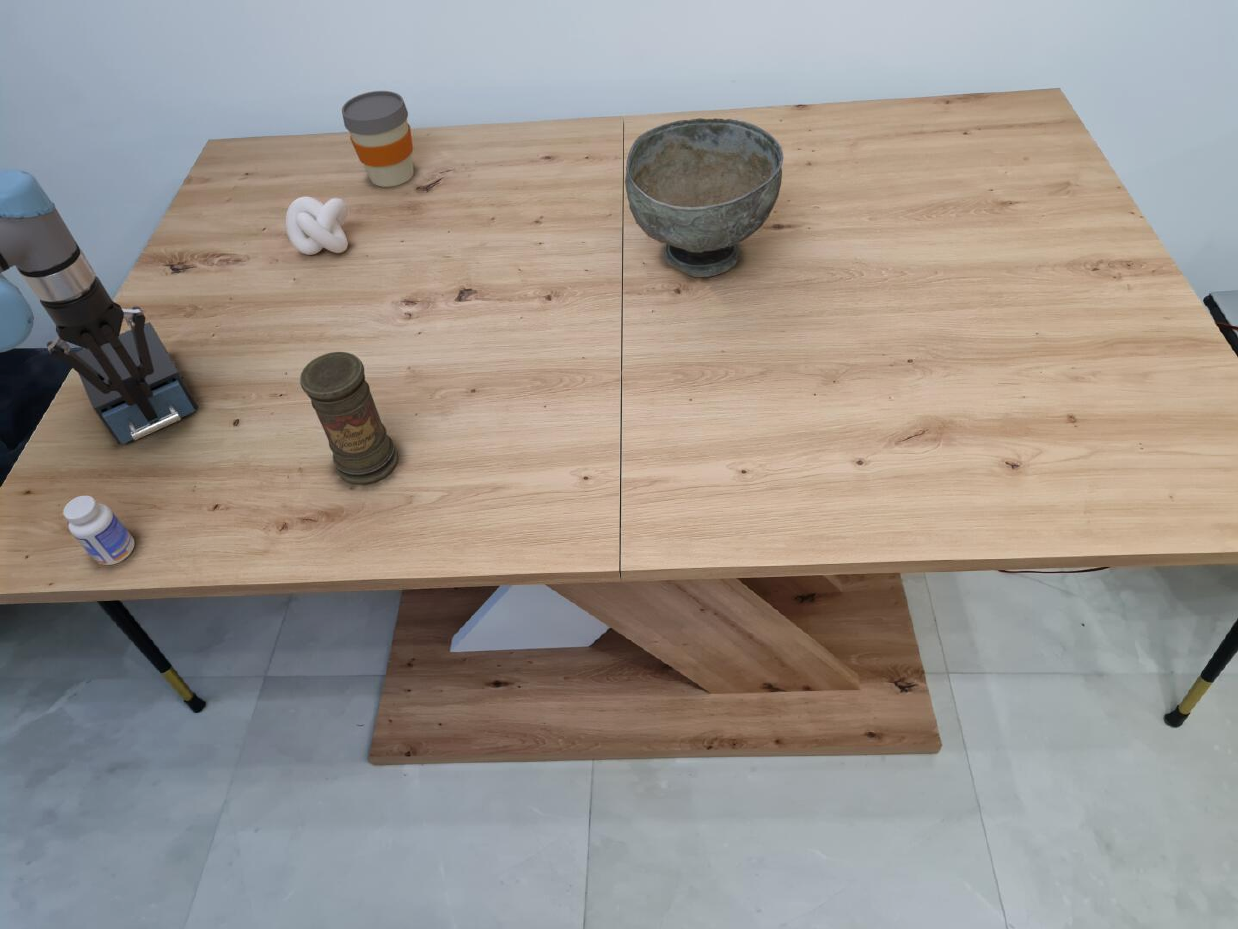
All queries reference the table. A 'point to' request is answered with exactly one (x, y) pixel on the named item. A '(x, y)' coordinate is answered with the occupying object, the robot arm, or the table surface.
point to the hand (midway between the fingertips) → (150, 414)
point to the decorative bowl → (703, 189)
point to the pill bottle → (98, 530)
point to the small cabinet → (161, 374)
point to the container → (349, 417)
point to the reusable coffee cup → (381, 136)
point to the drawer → (133, 423)
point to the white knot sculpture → (317, 225)
